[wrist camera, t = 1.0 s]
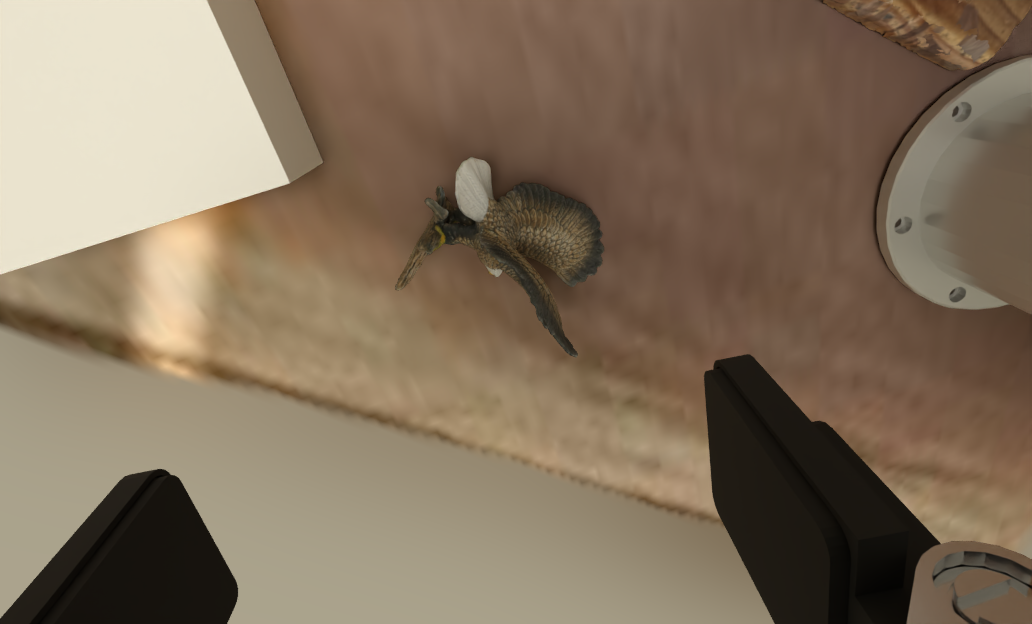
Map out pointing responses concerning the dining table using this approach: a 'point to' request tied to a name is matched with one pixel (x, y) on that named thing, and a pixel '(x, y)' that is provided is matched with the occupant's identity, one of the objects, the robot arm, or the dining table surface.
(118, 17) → the stand
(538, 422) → the dining table surface
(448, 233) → the eagle figurine
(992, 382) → the dining table surface
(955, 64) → the bird sculpture
